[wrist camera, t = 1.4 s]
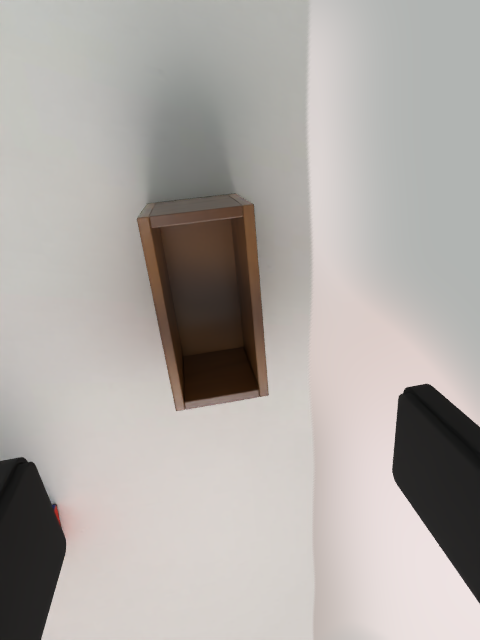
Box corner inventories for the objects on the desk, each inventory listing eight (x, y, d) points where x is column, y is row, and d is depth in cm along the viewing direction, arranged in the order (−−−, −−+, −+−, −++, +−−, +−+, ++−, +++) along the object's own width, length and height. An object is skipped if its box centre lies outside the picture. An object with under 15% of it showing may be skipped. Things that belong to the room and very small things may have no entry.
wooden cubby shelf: (146, 203, 21) (136, 217, 16) (235, 193, 21) (253, 203, 16) (176, 359, 25) (176, 411, 20) (250, 348, 25) (268, 395, 20)
